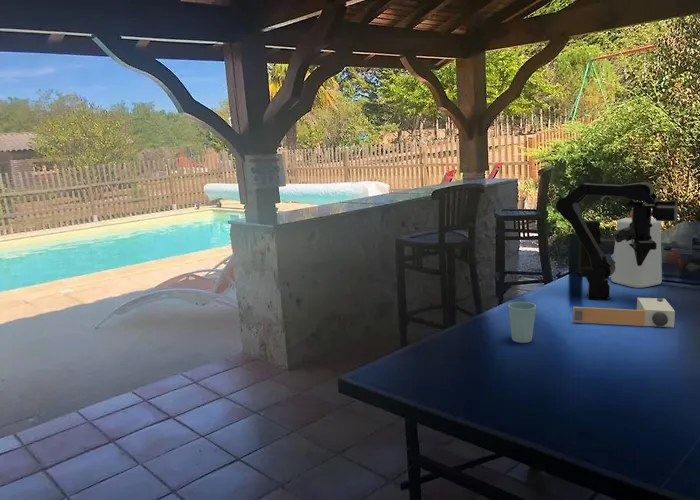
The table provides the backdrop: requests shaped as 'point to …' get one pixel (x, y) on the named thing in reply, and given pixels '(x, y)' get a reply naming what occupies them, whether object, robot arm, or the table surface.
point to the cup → (522, 321)
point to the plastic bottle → (627, 264)
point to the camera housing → (656, 312)
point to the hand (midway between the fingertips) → (639, 265)
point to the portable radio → (583, 256)
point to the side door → (608, 316)
